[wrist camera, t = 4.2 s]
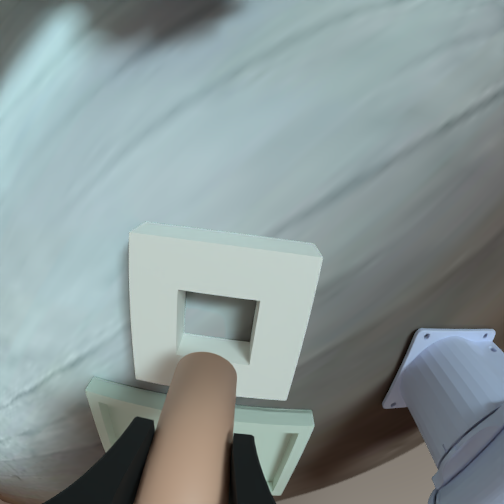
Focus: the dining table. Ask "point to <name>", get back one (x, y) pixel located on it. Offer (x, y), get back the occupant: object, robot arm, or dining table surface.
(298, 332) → the socket block
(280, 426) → the tray
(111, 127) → the dining table surface
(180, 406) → the dowel
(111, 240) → the dining table surface
